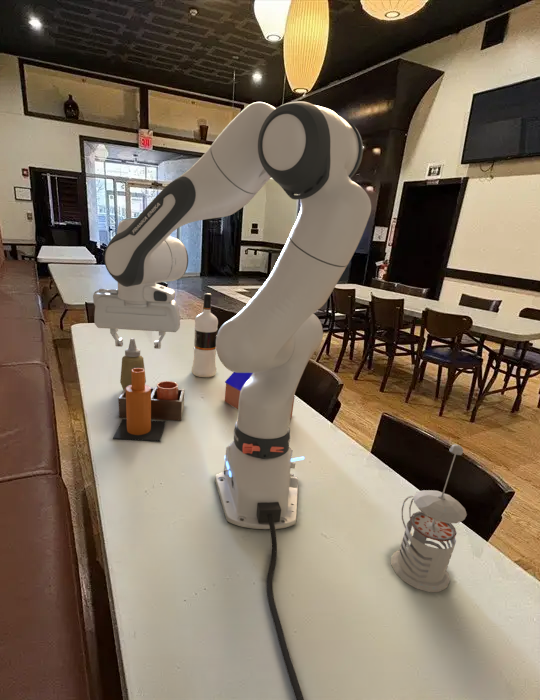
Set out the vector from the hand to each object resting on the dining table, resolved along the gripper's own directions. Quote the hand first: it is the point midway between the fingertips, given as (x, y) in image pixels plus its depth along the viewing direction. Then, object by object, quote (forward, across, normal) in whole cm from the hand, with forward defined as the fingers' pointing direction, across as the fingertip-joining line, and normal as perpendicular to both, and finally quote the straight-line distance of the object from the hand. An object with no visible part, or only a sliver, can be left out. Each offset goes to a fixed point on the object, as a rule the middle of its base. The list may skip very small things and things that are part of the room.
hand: (138, 347), depth 103 cm
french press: (+25, +57, -44) cm, 76 cm away
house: (+24, +33, +18) cm, 44 cm away
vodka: (+23, +15, +47) cm, 54 cm away
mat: (+23, 0, 0) cm, 23 cm away
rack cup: (+23, +6, +12) cm, 27 cm away
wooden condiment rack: (+23, +2, +12) cm, 26 cm away
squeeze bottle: (+23, -7, +26) cm, 35 cm away
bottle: (+23, 0, 0) cm, 23 cm away
